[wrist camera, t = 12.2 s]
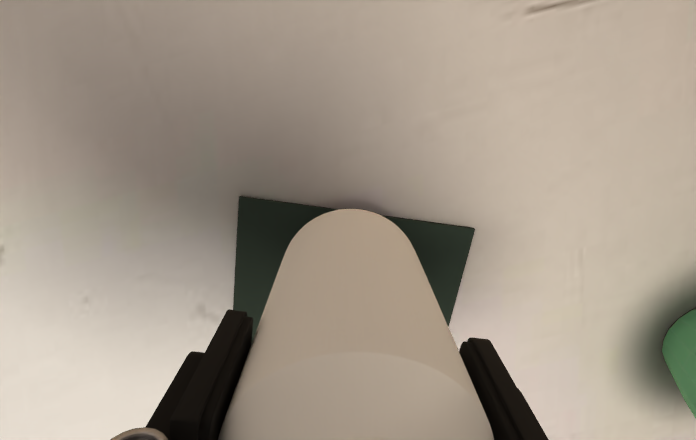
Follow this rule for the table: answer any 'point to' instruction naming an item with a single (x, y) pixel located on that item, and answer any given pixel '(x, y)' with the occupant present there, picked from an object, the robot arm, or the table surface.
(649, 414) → the table surface
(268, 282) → the mat
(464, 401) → the beverage can
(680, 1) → the table surface
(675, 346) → the mug
